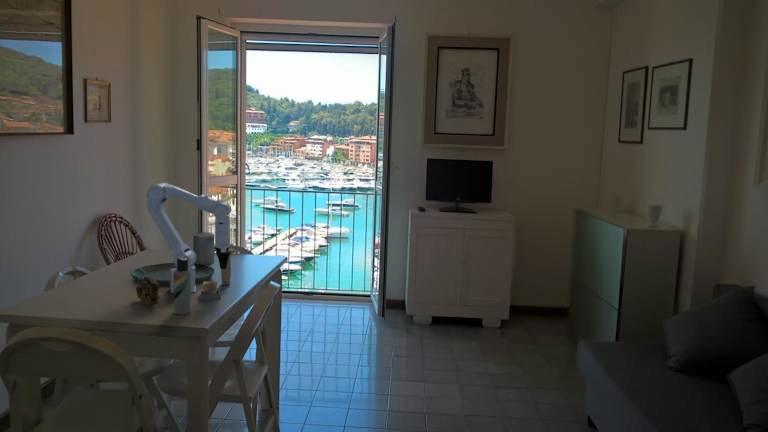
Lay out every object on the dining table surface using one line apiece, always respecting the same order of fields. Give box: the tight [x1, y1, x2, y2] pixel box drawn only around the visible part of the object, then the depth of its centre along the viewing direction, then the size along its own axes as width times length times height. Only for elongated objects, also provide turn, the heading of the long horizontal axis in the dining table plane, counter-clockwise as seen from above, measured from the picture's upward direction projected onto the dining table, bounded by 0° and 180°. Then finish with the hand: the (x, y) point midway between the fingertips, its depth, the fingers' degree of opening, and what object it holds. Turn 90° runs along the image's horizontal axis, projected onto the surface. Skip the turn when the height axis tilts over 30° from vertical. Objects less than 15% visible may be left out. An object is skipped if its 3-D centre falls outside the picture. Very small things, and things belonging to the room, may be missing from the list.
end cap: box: [199, 289, 221, 301], centre depth 236 cm, size 8×6×2 cm
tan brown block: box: [202, 281, 218, 294], centre depth 236 cm, size 5×3×6 cm, turn 108°
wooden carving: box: [135, 276, 161, 306], centre depth 222 cm, size 16×5×10 cm, turn 47°
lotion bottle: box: [173, 257, 192, 316], centre depth 215 cm, size 6×6×20 cm
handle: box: [220, 247, 235, 286], centre depth 254 cm, size 5×6×15 cm
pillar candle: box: [192, 231, 215, 266], centre depth 290 cm, size 10×10×15 cm
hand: (222, 266), depth 243 cm, fingers open, 7 cm apart
